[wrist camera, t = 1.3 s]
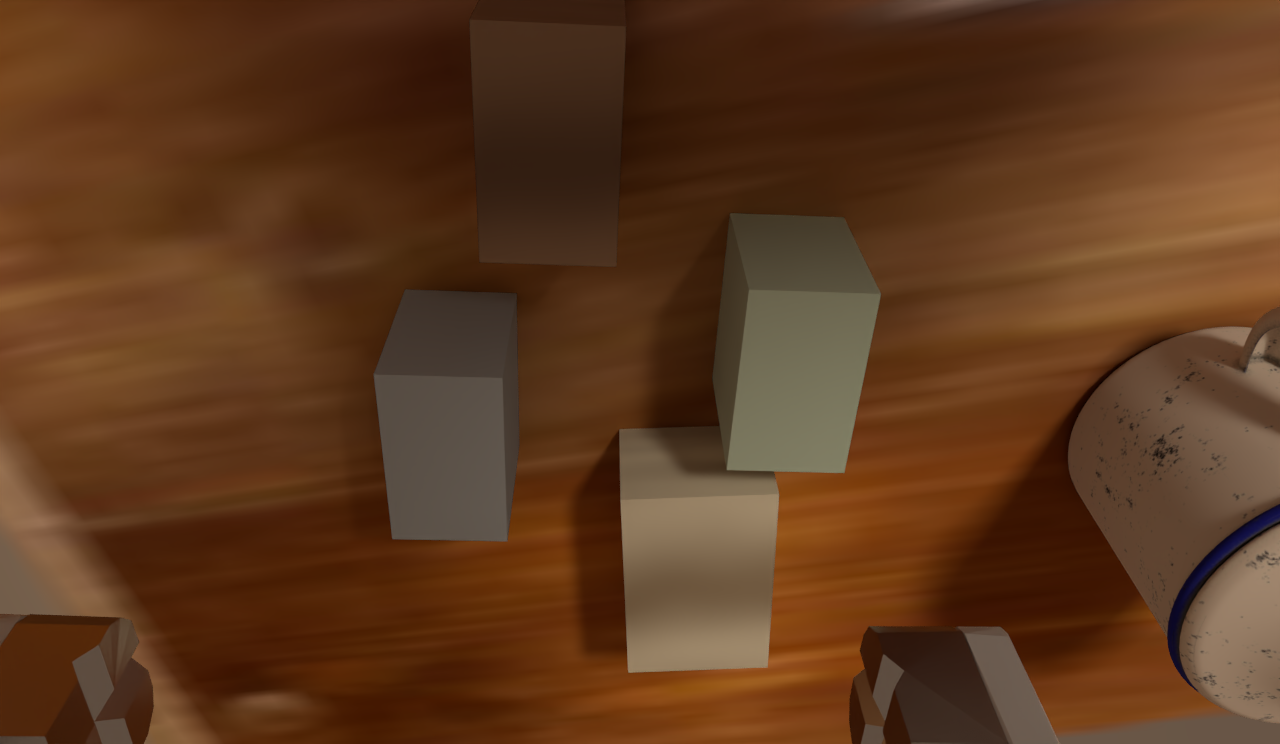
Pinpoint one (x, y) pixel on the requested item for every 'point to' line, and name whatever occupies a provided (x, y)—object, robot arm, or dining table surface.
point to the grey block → (450, 415)
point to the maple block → (694, 552)
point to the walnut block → (548, 129)
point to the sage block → (791, 342)
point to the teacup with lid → (1196, 501)
